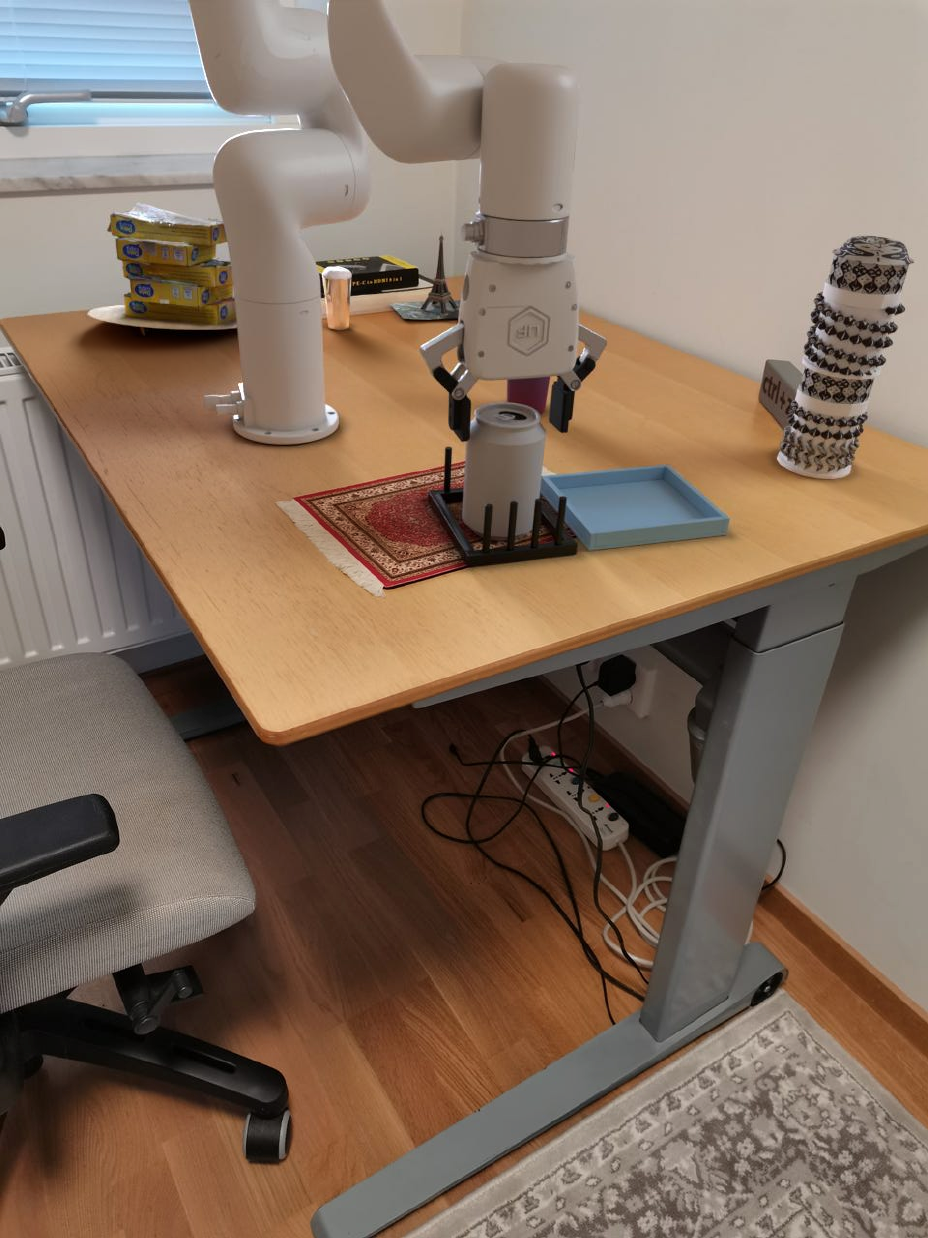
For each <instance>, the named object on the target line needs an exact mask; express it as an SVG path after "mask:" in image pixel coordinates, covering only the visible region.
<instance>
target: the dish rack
mask: <svg viewBox="0 0 928 1238" xmlns="http://www.w3.org/2000/svg"><path fill="white" fill-rule="evenodd" d="M452 458H453V447H452V446H445V448H444V467H443V470H444V471H443V488H442V489H431V490H428V491H427V501H428V504H429V505H430V507H431V508H432V510H433V511H434V513H435V515H436V517H437V518H438V520H439V522H440V524H441V525H442V527H443V529H444V530H445V532H446V534H447V535H448V537H449V539H450V540H451V542H452V545H454V547H455V549H456V550H457V552H458V554H459V555H460V557H461V560H463V562H464V564H465V566H466V567H467V568H472V567H473V568H474V567H482V566H490V565H498V564H507V563H516V562H524V561H525V562H526V561H533V560H541V559H549V558H559V557H566V556H575V555H577V554H578V548H579V543H578V542H577V540H576V539H575V538H574V537H573V535H571V533H569V531H568V530H567V529H566V527H565V522H564V519H565V511H566V503H567V497H565V496H561V497H560V498H559V506H558V513H556V514H557V516H556V515H555V514H554V513H553V511H552V510H551V509H550V507H548V505H547V503H545V502H544V501H543V499H542V498H541V496H539V499H536V500H535V506H534V516H533V526H532V530H531V538H530V543H528V544H519V545H515V543H516V539H515V532H516V521H517V510H518V502H516V501H512V502H511V503H510V513H509V525H508V537H507V540H506V546H500V547H494V548H492V547H491V542H492V541H491V527H492V513H493V505H492V504H486V505H485V516H484V532H483V537H482V548H481V549H475V548H474V546H473V545H472V543H471V542H470V540H469V538H468V537H467V535H466V533H465V532H464V531H463V529H462V527H461V526H460V523H459V522H458V521H457V519H456V518H455V516H454V514H453V513H452V511H451V509H450V508H449V506H448V505H447V504H453V503H463V493H464V486H463V487H453V488H452V487H451V482H452V460H453V459H452ZM541 524H542V525H543V527H544V528H545V529H546V530H547V532H548V533H549V534H550V535H551V536H552V538H553V539H554V541H545V542H539V541H540V531H541Z"/></svg>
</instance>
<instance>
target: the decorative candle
mask: <svg viewBox="0 0 928 1238" xmlns="http://www.w3.org/2000/svg"><path fill="white" fill-rule="evenodd" d="M831 253H832V254H833V259H832V263H831V267H830V270H829V274H828V278H826V279H825V282H824V286H823V290H822V291H820V292H818V293H817V294H816V296H815V297H814V299H813V303H814V307H815V308H814V309H813V310H812V311H811V312H810V317H811V318H810V321H811V323H813V325H811V326H810V327H809V330H808V331H806V336H807V337H808V338H807V343H804V346H803V349H804V350H803V353H804V355H803V357H802V360H801V364H803V366H804V370H803V374H802V377H801V382H800V383H799V385H798V387H797V390H796V394H795V398H794V399H792V401H791V402H790V406H789V408H790V410H791V412H790V413H788V414H787V419H786V422H787V423H788V425H786V426H785V427H784V428H783V431H782V437H783V439H782V440H781V441H780V443H779V451H778V455H777V457H776V460H777V461H778V463H779V464H780V466H782V467H783V468H785V469H786V470H787V471H790V472H792V473H795V474H798V475H800V476H804V477H809V478H813V479H821V480H822V479H823V480H835V479H841V478H843V479H844V478H845V477H846V476H848V475H850V473H851V469H852V464H853V461H855V460H856V456H855V453H856V452H857V449H858V448H859V447H860V442H859V441H860V439H859V437H860V436H861V434H863V433H864V430H865V429H864V426H863V424H864V423H865V422H866V421H867V420H868V419H869V418H868V417H869V416H868V411H867V409H868V406H869V403H870V400H871V396H870V393H871V391H872V388H873V385H874V380H875V378H878V377H880V376H881V373H882V366H884V365H885V364H886V362H887V359H886V358H885V356H883V354H882V351H883V350H885V349H888V348H890V347H892V346H893V345H894V341H893V340H892V338H890V335H892V334H894V333H896V332H897V331H898V329H899V326H898V325H897V323H895V321H894V320H893V321H892V318H893V316H898V315H901V314H903V313H905V311H906V308H905V306H904V305H903V304H902V302H901V299H902V295H903V292H904V289H903V286H904V283H905V280H906V277H907V273H908V270H909V267H910V265H912V264H915V259H913V258H912V257H910V256H909V252H908V248H907V246H906V244H904V243H903V242H902V241H900V240H897V239H893V238H888V237H885V236H876V235H875V236H874V235H856V236H851V237H849V238H847V239H846V240H845V241H844V242H843V244H842V245H841V246H840V247H839V248H835V249H833V250H832V252H831Z"/></svg>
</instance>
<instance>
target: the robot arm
mask: <svg viewBox="0 0 928 1238" xmlns="http://www.w3.org/2000/svg"><path fill="white" fill-rule="evenodd" d="M187 2H188V8H189V13H190V16H191V21H192V25H193V30H194V34H195V35H194V36H195V38H196V43H197V47H198V53H199V56H200V61H201V65H202V69H203V73H204V78H205V81H206V84H207V86H208V87H207V88H208V89H209V91H210V94H211V97H212V98H213V100H214V102H215V103H216V104H217V106H218V107H219V108H220V109H222V110H223V111H224V112H227V113H229V114H232V115H236V116H243V117H274V116H276V117H278V116H297V119H298V123H299V127H300V128H277V129H276V128H275V129H262V130H261V129H259V130H258V129H257V130H252V131H245V132H243V133H239V134H236V135H234V136H232V137H230V138H229V139H227V140H226V141H225V142H224V143H223V144H222V145H221V146H220V147H219V149H218V150H217V152H216V154H215V156H214V160H213V165H212V181H213V182H212V184H213V189H214V193H215V197H216V200H217V204H218V205H217V206H218V208H219V211H220V216H221V219H222V221H223V223H224V228H225V232H226V237H227V242H226V243H227V248H228V255H229V260H230V262H231V270H232V279H233V297H235V308H236V319H237V328H236V329H237V340H238V350H239V351H238V352H239V361H240V372H241V383H240V382H239V383H238V384H237V386H238V390H233V391H232V390H231V391H230V394H207V395H206V394H204V395H203V403H204V404H203V405H204V410H205V413H207V412H208V413H211V412H216V417H217V418H221V417H229V416H232V427H233V430H234V432H236V433H237V434H238V435H239V436H241V437H243V438H244V439H247V440H249V441H253V442H257V443H260V444H268V445H278V446H279V445H282V446H283V445H287V446H288V445H289V446H290V445H301V444H307V443H312V442H316V441H318V440H322V439H325V438H326V437H329V436H331V435H332V434H333V433H334V432H336V430H338V427H339V425H340V421H339V420H340V418H339V414H338V412H337V410H336V409H334V408H333V407H332V406H331V405H328V404H326V390H325V389H326V387H325V369H324V368H325V365H324V364H325V363H324V342H323V339H324V338H323V317H322V293H321V276H320V272H319V268H318V265H317V262H316V260H315V257H314V256H313V253H311V251H310V250H309V248H308V246H307V244H306V243H305V241H304V239H303V237H302V235H301V232H300V231H301V230H303V229H308V228H312V227H319V226H320V227H321V226H325V225H327V226H328V225H333V224H339V223H340V224H341V223H345V222H348V221H352V220H354V219H356V218H357V217H359V216H360V215H361V214H362V213H363V212H364V211H365V210H366V208H367V207H368V205H369V202H370V199H371V194H372V189H373V171H372V169H373V168H372V159H371V153H370V147H369V140H371V142H372V143H373V144H374V146H375V147H376V148H377V149H378V150H379V151H381V153H383V155H385V156H386V157H388V158H389V159H392V160H393V161H395V162H398V163H401V164H408V165H414V164H416V165H417V164H424V163H425V164H428V163H437V162H438V163H439V162H449V161H450V162H451V161H466V160H467V161H468V160H478V159H479V182H478V207H477V210H478V212H475V217H474V221H470V223H469V222H468V223H462V224H461V228H460V236H461V240H462V241H463V242H471V243H474V246H475V247H476V250H473V251H471V252H470V253H469V255H468V259H467V263H466V268H465V273H464V279H463V283H462V288H461V289H462V290H461V297H460V300H461V301H460V309H459V318H457V319H458V320H457V324H456V325H453V326H452V327H451V328H449V329H446V331H445V330H444V332H442V333H440V334H439V335H437V336H435V337H433V338H432V339H430V340H428V341H427V342H425V343H424V344H422V345H421V346H420V347H419V354H420V355H421V357H422V359H423V361H424V363H425V365H426V367H427V369H428V370H429V373H430V375H431V376H432V377H433V379H434V380H435V381H436V382H437V383H438V385H440V386H441V387H442V388H443V389H444V390H446V391H447V392H448V412H447V413H448V416H447V421H448V427H449V429H450V430H451V431H453V433H454V434H455V436H456V437H457V439H459V441H460V442H461V443H466V442H467V441H468V440H469V439H470V422H471V421H472V420H471V416H472V401H471V399H470V397H469V396H468V393H469V392H470V391H471V389H472V388H473V387H474V386H475V385H476V383H477V382H478V381H479V380H480V381H489V382H491V381H492V382H493V381H507V380H510V379H525V378H539V377H550V378H551V377H556V378H557V379H556V381H553V384H551V391H550V401H549V414H548V422H549V423H550V425H551V426H552V427H554V429H556V430H557V431H558V433H560V434H565V433H568V431H569V425H570V424H569V423H570V421H572V420H573V415H574V406H575V397H576V392H577V391H579V390H580V389H581V388H582V382H583V381H585V380H586V378H587V377H589V375H590V374H591V373H592V372H593V371H594V370H595V369H596V367H597V364H596V363H597V361H599V360H600V358H601V356H602V354H603V353H604V351H605V350H606V347H607V346H608V340H607V338H606V337H604V336H602V335H601V334H600V333H597V332H596V331H594V330H593V329H590V328H588V327H587V326H585V325H583V324H581V323H580V301H579V278H578V266H577V260H576V259H577V258H576V256H575V255H574V254H572V253H570V252H567V248H568V238H569V237H568V236H569V225H570V214H571V203H572V194H573V193H572V192H573V180H574V170H575V159H576V158H575V157H576V147H577V136H578V135H577V134H578V124H579V112H580V99H581V83H580V80H579V77H578V75H577V73H576V72H575V71H574V70H573V69H572V68H569V67H568V66H565V65H560V64H551V63H550V64H548V63H534V62H533V63H532V62H508V61H504V60H503V59H498V58H494V57H490V56H489V57H488V56H479V55H478V56H477V55H458V54H457V55H456V54H453V55H450V54H448V55H447V54H442V55H441V54H413V53H412V51H411V50H410V49H409V47H408V46H407V44H406V42H405V40H404V38H403V36H402V35H401V32H400V31H399V29H398V27H397V24H396V23H395V21H394V19H393V16H392V15H391V13H390V10H389V7H388V6H387V3H386V0H327V10H326V13H324V12H322V11H320V10H316V9H312V8H304V7H286V6H284V5H283V4H282V3H281V2H280V0H187ZM368 137H369V139H368ZM579 341H580V342H581V343H583V344H584V348H583V349H582V353H581V354H580V355H578V350H579V349H578V348H579ZM455 348H456V358H457V360H458V363H457V365H456V366H455V367H454V368H453V370H452V371H451V372H449V371H448V370H447V369H446V367H445V366H444V363H443V361H442V357H443V356H444V355H445V354H446V353H448V352H450V351H451V350H454V349H455Z"/></svg>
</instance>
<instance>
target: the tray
mask: <svg viewBox="0 0 928 1238" xmlns="http://www.w3.org/2000/svg"><path fill="white" fill-rule="evenodd" d="M540 494H541V495H542V497H543V498H544V499H545V500H546V502H547V503H548V504H549V505H550V506H551V507H552V509H553V510H554V511H555V513H556V514H558V506H559V498H560V497H561V496H565V497H567V503H566V511H565V519H564V524H566V525H567V527H568V528H569V529H570V530H571V532H572V533H573V534H574V535H575V536H576V538H577V539H578V540H579V541H580V543H581V544H582V545H583V546H584V547H585V549H587V551H588V552H591V551H600V550H610V549H616V548H626V547H634V546H643V545H651V544H660V543H669V542H677V541H685V540H686V541H687V540H694V539H695V540H696V539H702V538H711V537H721V536H727V535H728V529H729V525H730V522H731V521H730V520H731V517H729V516H728V515H727V514H726V513H725V512H724V511H722V510H721V509H720V508H719V507H718V506H717V505H715V504H714V503H713V502H712V501H711V500H710V499H709V498H707V497H706V496H705V495H704V494H703V493H702V492H701V491H699V490H698V489H697V488H696V487H695V486H694V485H693V484H691V482H689V481H688V480H687V479H686V478H685V477H683V476H682V475H681V474H680V473H679V472H678V471H677V470H675V469H674V467H672V466H671V465H669V464H668V463H667V464H657V465H646V466H645V465H644V466H637V467H636V466H634V467H623V468H614V469H613V468H612V469H603V470H590V471H582V472H571V473H560V474H559V473H558V474H548V475H542V477H541V486H540Z"/></svg>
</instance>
